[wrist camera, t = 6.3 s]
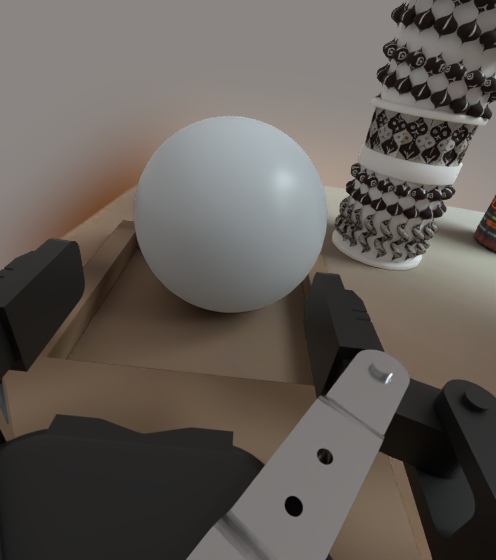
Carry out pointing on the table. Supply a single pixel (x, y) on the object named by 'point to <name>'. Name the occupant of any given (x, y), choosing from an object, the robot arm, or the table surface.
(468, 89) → the decorative candle
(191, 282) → the ball
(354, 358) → the robot arm
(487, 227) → the supplement bottle
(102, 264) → the wooden tray
